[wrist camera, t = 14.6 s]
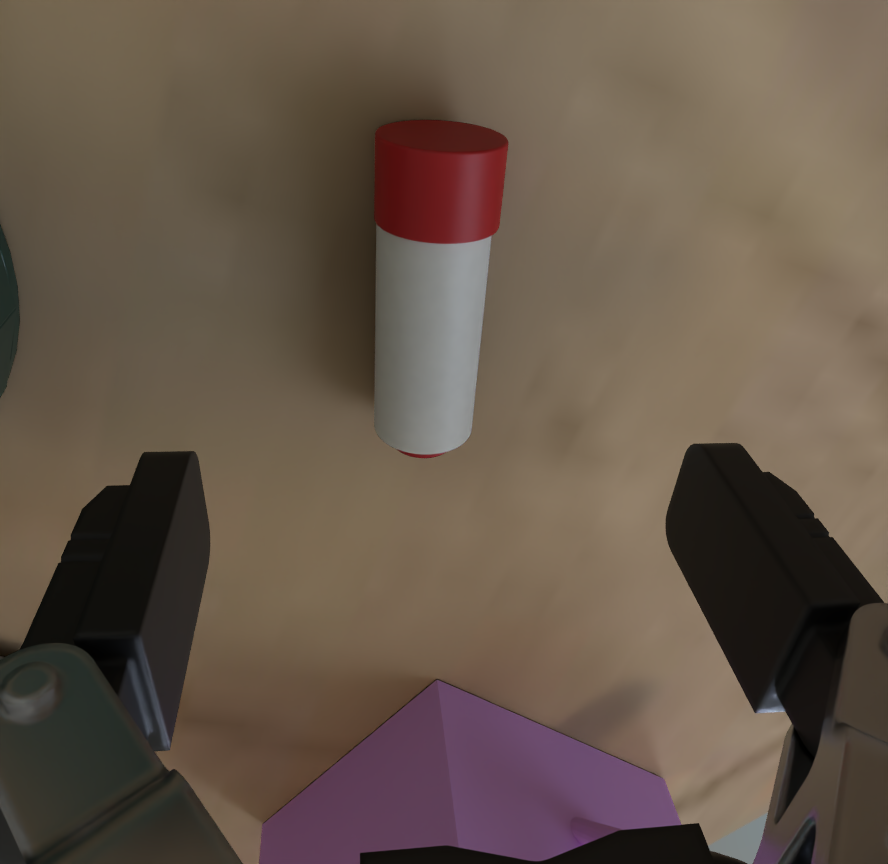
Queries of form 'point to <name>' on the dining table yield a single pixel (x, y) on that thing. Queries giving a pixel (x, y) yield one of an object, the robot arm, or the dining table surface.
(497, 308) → the dining table surface
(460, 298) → the red and white gluestick
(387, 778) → the teapot
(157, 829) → the robot arm
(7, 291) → the pot
